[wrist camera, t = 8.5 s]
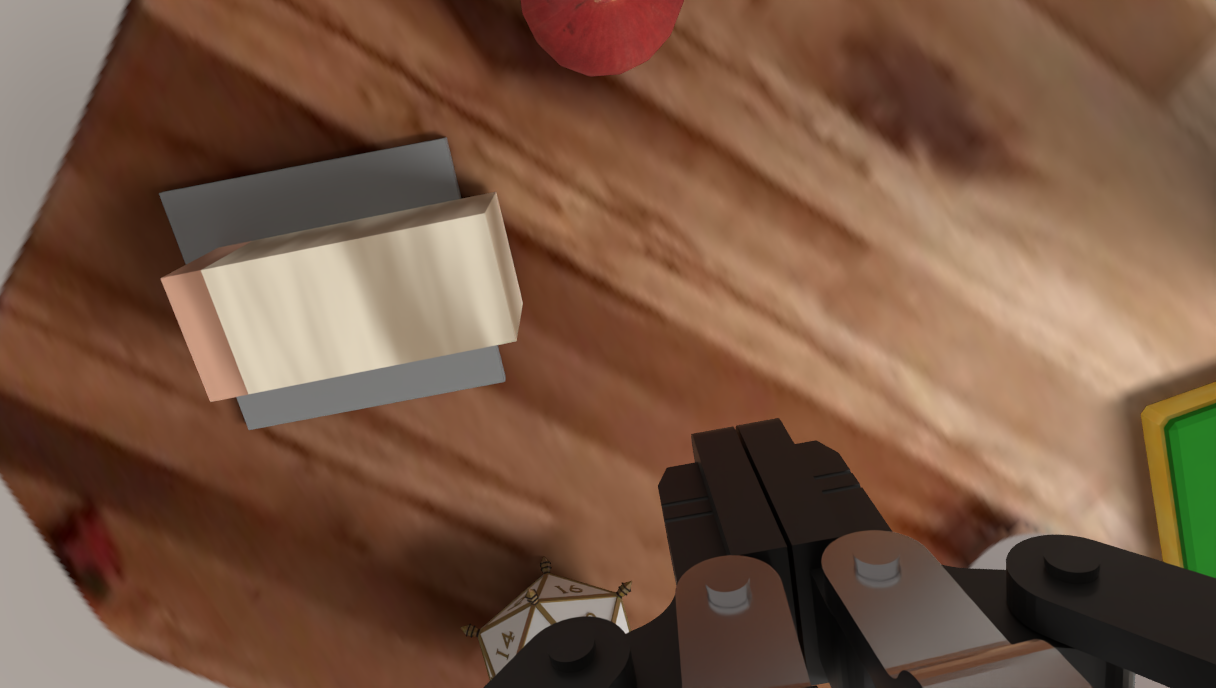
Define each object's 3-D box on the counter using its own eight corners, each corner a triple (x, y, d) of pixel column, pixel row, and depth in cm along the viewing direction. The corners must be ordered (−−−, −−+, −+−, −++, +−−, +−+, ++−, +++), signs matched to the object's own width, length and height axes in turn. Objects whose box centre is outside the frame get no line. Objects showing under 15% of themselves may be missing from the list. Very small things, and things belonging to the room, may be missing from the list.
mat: (446, 137, 32) (444, 138, 32) (505, 377, 36) (504, 381, 36) (164, 191, 32) (158, 193, 32) (252, 425, 36) (248, 429, 36)
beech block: (484, 213, 28) (160, 278, 28) (516, 341, 30) (210, 401, 30) (496, 191, 33) (217, 247, 33) (522, 303, 34) (258, 355, 35)
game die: (526, 566, 44) (389, 648, 36) (629, 504, 40) (499, 582, 31) (606, 713, 42) (481, 836, 34) (723, 666, 38) (612, 794, 30)
